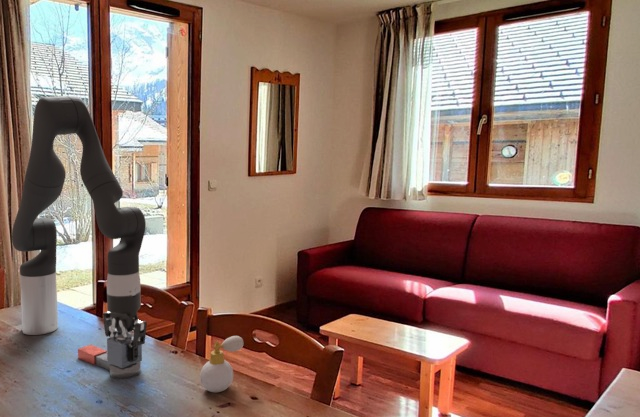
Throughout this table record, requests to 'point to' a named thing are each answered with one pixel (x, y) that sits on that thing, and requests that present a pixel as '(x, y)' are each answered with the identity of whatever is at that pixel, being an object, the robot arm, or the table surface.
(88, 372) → the table surface
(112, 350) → the cube with chrome knob
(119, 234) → the robot arm
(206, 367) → the perfume bottle
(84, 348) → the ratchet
